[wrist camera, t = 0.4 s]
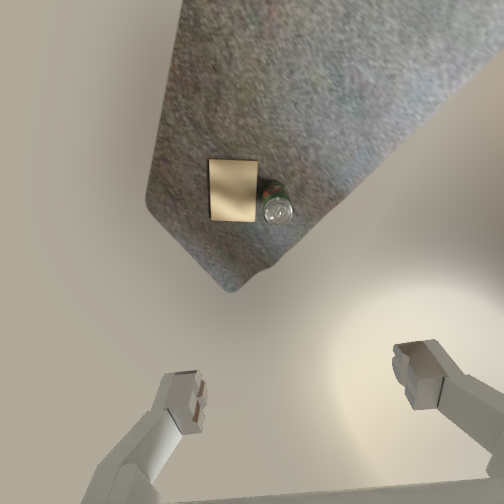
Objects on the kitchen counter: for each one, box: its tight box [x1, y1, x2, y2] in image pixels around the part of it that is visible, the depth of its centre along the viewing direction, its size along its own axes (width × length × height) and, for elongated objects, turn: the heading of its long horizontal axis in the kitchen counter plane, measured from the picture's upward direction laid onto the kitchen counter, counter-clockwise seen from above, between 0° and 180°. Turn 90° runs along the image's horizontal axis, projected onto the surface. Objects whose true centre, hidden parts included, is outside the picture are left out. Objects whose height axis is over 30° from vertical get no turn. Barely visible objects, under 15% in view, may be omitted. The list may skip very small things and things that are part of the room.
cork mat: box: [209, 159, 258, 222], centre depth 52 cm, size 12×9×1 cm
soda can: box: [261, 181, 294, 226], centre depth 47 cm, size 5×5×12 cm
